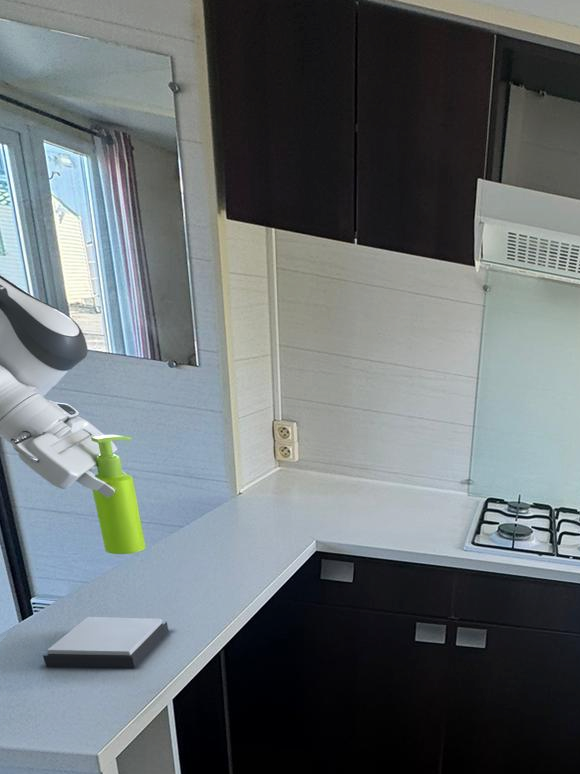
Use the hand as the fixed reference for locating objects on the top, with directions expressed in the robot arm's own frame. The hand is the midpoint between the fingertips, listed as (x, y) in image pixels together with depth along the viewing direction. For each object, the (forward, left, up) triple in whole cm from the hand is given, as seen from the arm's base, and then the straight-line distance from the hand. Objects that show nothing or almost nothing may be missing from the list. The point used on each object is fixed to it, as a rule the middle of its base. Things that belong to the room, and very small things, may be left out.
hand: (120, 487), depth 109 cm
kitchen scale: (-1, -11, -26) cm, 28 cm away
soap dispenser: (-1, 0, -11) cm, 11 cm away
